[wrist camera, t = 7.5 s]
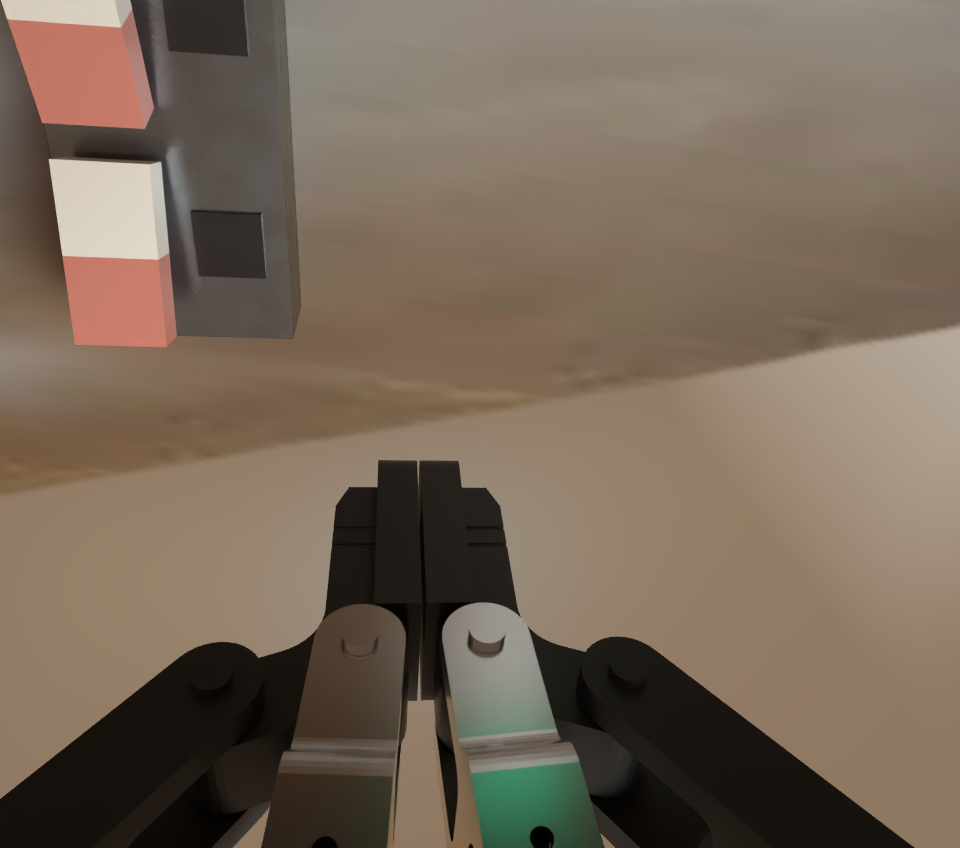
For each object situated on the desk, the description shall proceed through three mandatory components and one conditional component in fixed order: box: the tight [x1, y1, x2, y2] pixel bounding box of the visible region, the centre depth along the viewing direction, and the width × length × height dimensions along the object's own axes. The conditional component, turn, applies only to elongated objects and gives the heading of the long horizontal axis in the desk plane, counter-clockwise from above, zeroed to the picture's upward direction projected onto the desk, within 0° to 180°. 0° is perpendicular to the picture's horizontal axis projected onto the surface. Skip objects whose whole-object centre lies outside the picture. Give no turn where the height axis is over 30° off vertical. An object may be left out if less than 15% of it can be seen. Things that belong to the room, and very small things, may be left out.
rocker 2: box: [49, 157, 177, 347], centre depth 34 cm, size 4×8×2 cm, turn 175°
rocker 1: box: [1, 0, 154, 129], centre depth 29 cm, size 4×8×2 cm, turn 175°
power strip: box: [44, 0, 301, 339], centre depth 33 cm, size 10×30×4 cm, turn 175°
